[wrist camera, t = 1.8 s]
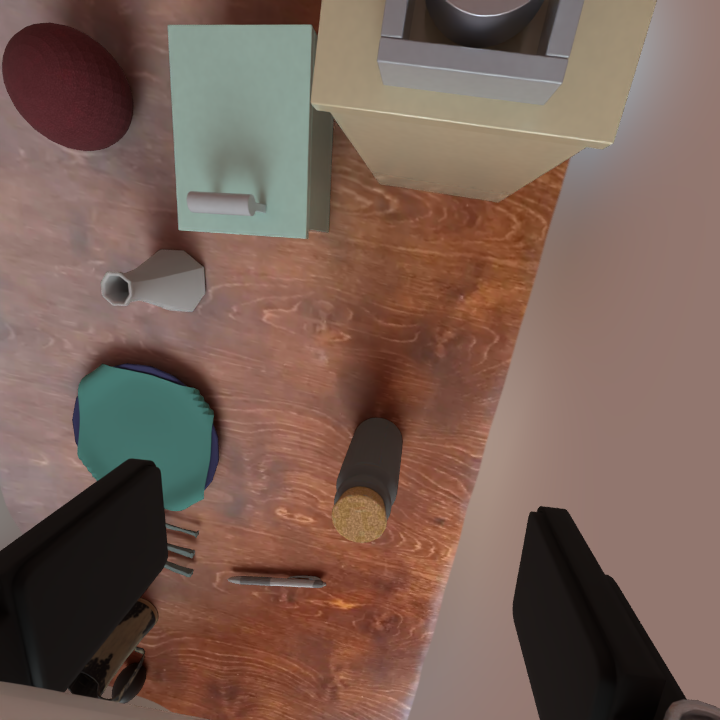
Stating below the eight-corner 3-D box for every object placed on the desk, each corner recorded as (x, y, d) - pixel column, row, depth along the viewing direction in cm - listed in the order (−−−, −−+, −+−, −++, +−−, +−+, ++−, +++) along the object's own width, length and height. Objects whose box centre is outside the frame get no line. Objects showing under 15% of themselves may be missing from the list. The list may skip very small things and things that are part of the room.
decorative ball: (58, 131, 45) (-41, 100, 35) (83, 34, 42) (-18, -29, 32) (137, 177, 45) (59, 158, 35) (168, 83, 42) (92, 35, 32)
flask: (198, 321, 48) (143, 339, 39) (143, 298, 49) (74, 310, 39) (214, 262, 46) (159, 266, 37) (156, 238, 46) (86, 236, 37)
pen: (327, 582, 55) (325, 590, 54) (231, 577, 58) (226, 585, 56) (327, 575, 55) (324, 584, 54) (230, 571, 57) (225, 579, 56)
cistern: (390, 90, 39) (324, -226, 13) (525, 108, 38) (748, -204, 12) (375, 186, 42) (293, 82, 15) (501, 206, 40) (643, 128, 14)
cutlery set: (235, 382, 50) (226, 388, 47) (208, 576, 58) (200, 589, 56) (85, 342, 51) (70, 346, 49) (81, 537, 60) (68, 548, 58)
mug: (123, 621, 63) (56, 704, 52) (123, 593, 62) (54, 672, 50) (171, 634, 62) (114, 721, 51) (172, 606, 61) (114, 689, 49)
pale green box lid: (308, 238, 36) (290, 237, 31) (183, 230, 37) (148, 227, 33) (314, 29, 32) (295, -10, 27) (173, 29, 33) (131, -8, 28)
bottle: (350, 456, 50) (320, 539, 36) (358, 412, 48) (330, 481, 34) (397, 466, 49) (386, 556, 35) (407, 422, 48) (399, 497, 33)
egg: (151, 681, 66) (130, 715, 61) (128, 677, 66) (105, 710, 61) (148, 662, 65) (126, 695, 60) (125, 657, 65) (101, 690, 60)
